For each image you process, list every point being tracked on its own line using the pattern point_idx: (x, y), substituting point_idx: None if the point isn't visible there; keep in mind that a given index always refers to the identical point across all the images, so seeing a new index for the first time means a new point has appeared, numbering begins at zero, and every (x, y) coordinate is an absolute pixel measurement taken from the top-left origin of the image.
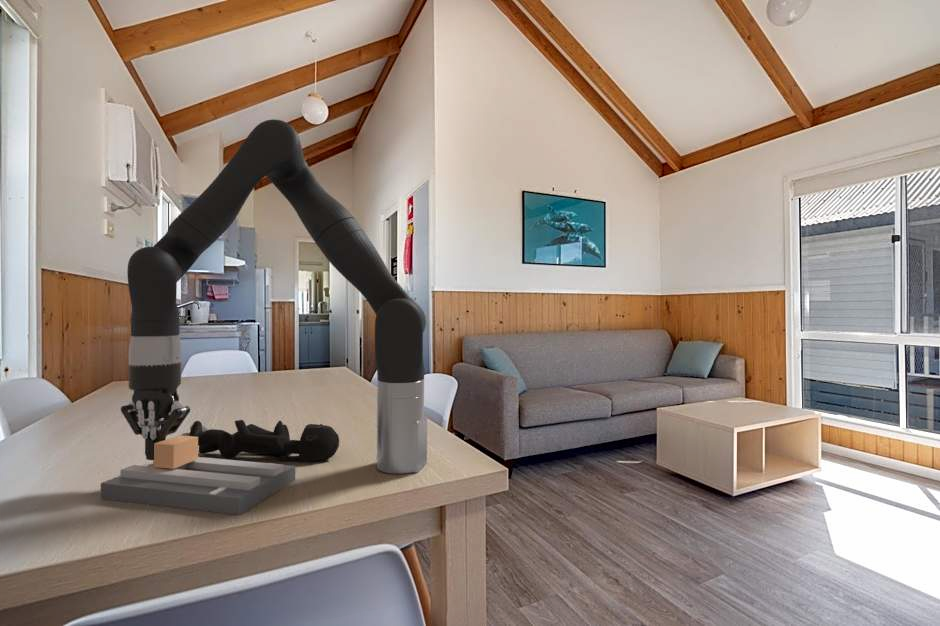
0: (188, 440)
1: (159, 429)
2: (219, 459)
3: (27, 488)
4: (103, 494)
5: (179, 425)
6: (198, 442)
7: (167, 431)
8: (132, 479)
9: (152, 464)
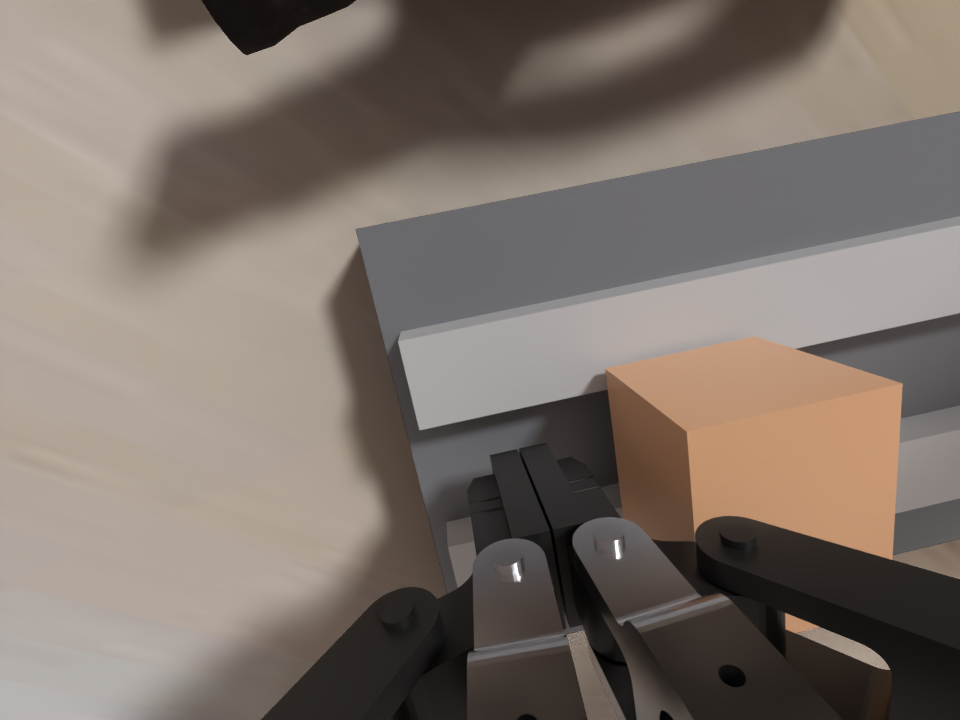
0: (895, 484)
1: (549, 582)
2: (862, 254)
3: (17, 695)
4: None
5: (877, 566)
6: (345, 5)
7: (811, 649)
8: None
9: (408, 411)
